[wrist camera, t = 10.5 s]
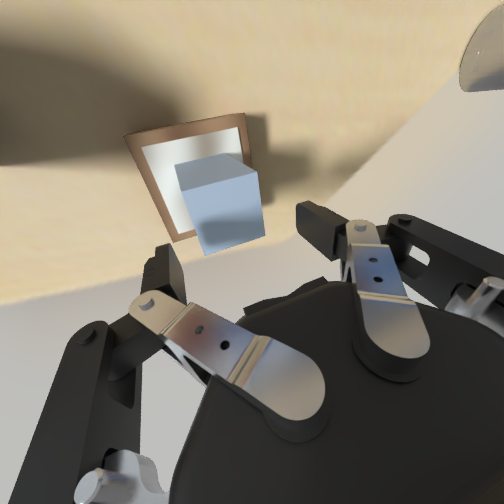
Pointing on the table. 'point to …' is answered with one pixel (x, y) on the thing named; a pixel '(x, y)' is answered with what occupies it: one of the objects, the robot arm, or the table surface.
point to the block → (221, 201)
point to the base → (183, 150)
